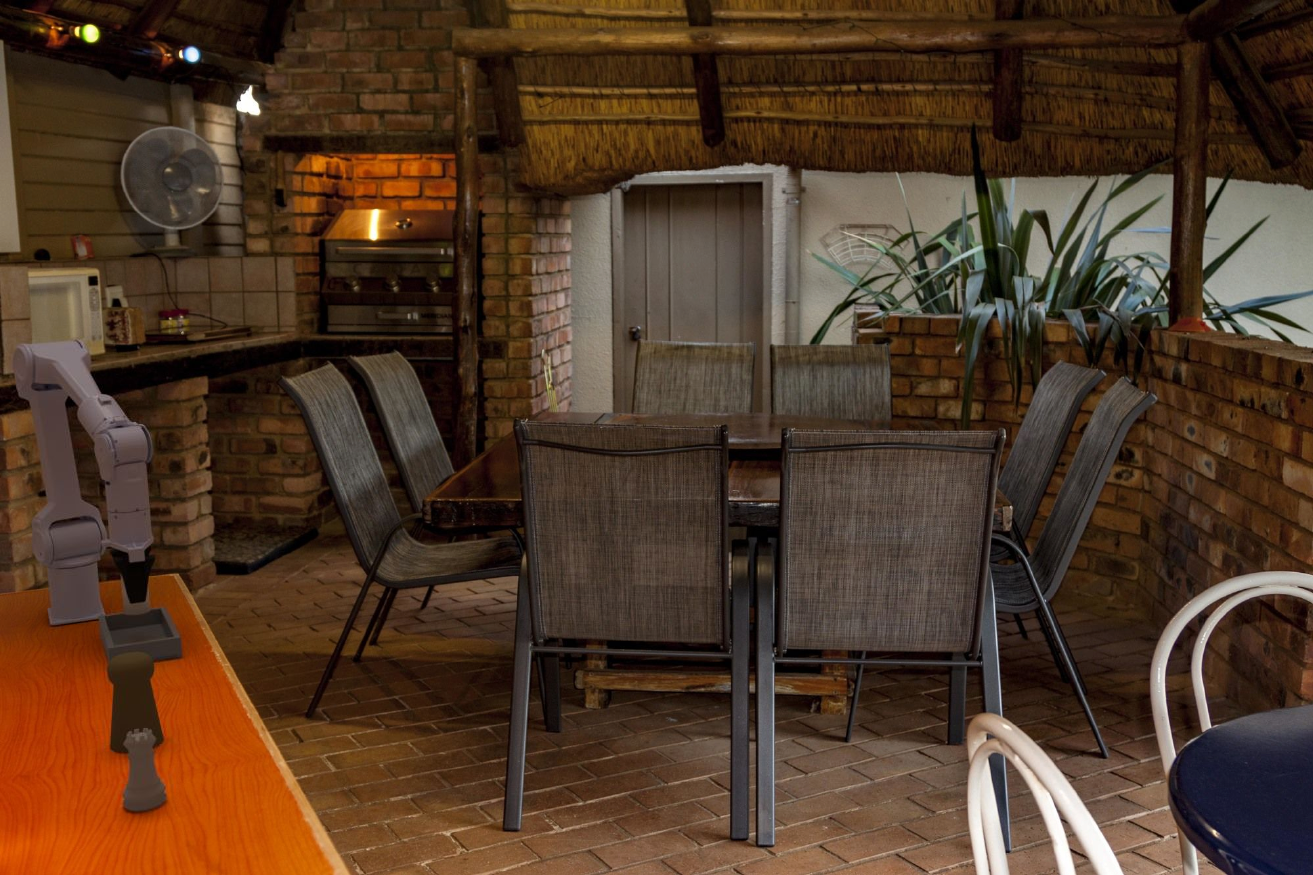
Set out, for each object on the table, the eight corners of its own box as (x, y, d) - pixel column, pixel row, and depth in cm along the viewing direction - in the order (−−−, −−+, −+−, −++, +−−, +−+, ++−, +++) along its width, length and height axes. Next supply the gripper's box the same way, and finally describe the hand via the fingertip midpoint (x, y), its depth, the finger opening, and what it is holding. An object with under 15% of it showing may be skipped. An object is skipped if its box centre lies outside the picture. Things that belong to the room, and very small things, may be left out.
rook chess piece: (122, 816, 131) (116, 744, 130) (122, 799, 135) (116, 728, 134) (168, 808, 133) (162, 736, 131) (166, 791, 137) (160, 721, 135)
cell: (122, 610, 186) (118, 564, 185) (148, 606, 187) (144, 561, 186) (125, 616, 183) (121, 569, 181) (151, 612, 184) (147, 566, 183)
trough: (100, 634, 191) (98, 615, 191) (166, 624, 196) (165, 606, 195) (110, 668, 176) (108, 648, 175) (182, 657, 180) (180, 637, 180)
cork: (151, 753, 147) (144, 663, 145) (100, 753, 147) (92, 663, 145) (172, 732, 153) (165, 646, 151) (123, 733, 153) (115, 646, 151)
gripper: (94, 502, 187) (102, 590, 189) (102, 521, 174) (111, 615, 176) (145, 497, 190) (152, 584, 192) (156, 515, 178) (164, 608, 180)
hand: (136, 598), depth 185 cm, fingers closed on cell, 4 cm apart
